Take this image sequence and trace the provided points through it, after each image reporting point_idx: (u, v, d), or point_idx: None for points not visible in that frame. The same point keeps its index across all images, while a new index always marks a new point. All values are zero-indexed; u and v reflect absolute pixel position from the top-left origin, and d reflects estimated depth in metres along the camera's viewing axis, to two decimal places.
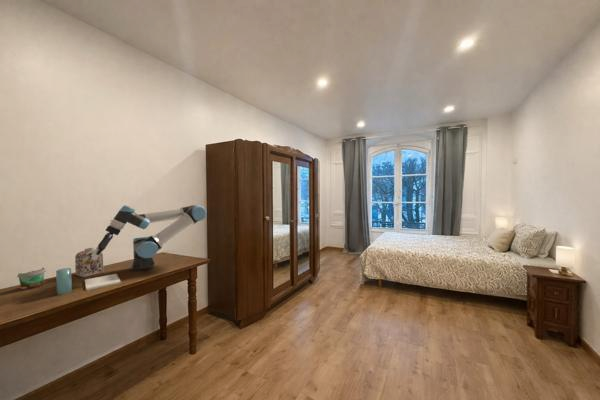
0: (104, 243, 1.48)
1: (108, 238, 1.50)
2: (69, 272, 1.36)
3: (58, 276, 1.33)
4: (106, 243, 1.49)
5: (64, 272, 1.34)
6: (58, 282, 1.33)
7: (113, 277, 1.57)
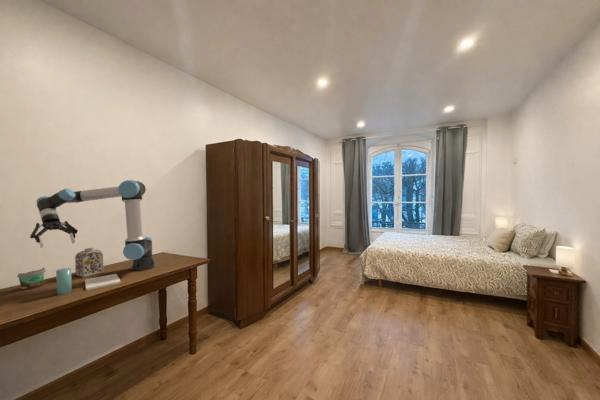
0: None
1: None
2: (69, 272, 1.36)
3: (58, 276, 1.33)
4: (33, 231, 1.39)
5: (64, 272, 1.34)
6: (58, 282, 1.33)
7: (113, 277, 1.57)
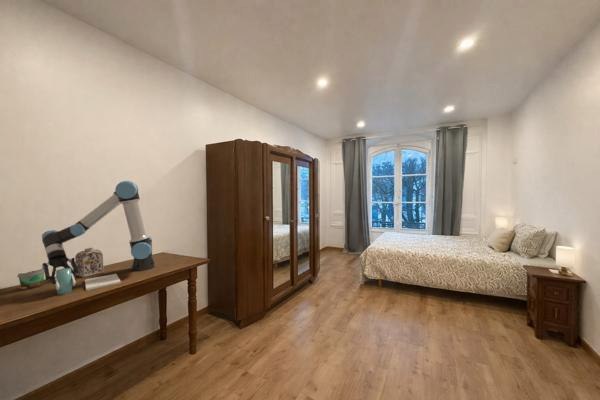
0: (45, 274, 1.33)
1: (44, 268, 1.34)
2: (69, 272, 1.36)
3: (58, 276, 1.33)
4: (45, 272, 1.32)
5: (64, 272, 1.34)
6: (58, 282, 1.33)
7: (113, 277, 1.57)
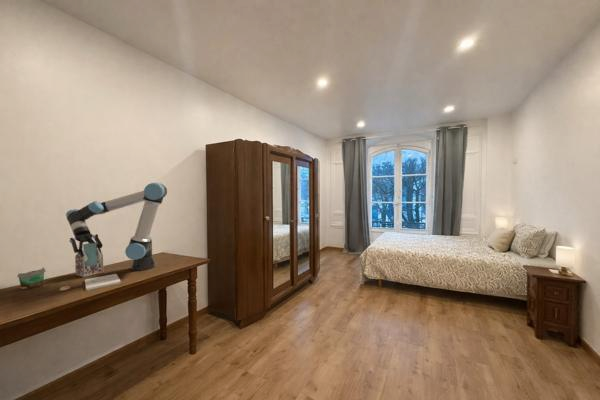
0: (73, 247, 1.43)
1: (72, 242, 1.44)
2: (95, 246, 1.47)
3: (85, 249, 1.44)
4: (73, 246, 1.43)
5: (91, 245, 1.45)
6: None
7: (113, 277, 1.57)
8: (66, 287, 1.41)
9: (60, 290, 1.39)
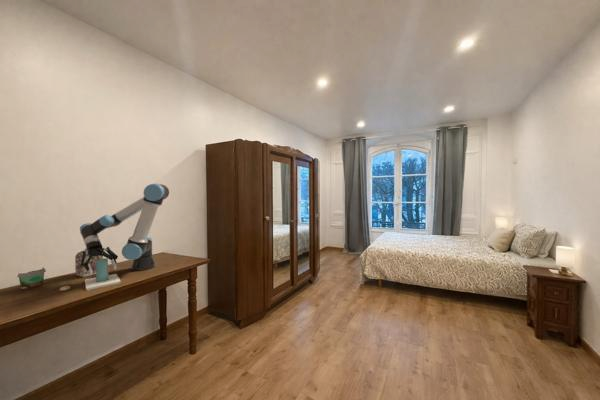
0: (81, 261, 1.47)
1: (82, 255, 1.49)
2: (106, 262, 1.51)
3: (97, 265, 1.48)
4: None
5: (102, 262, 1.49)
6: (97, 271, 1.48)
7: (113, 277, 1.57)
8: (66, 287, 1.41)
9: (60, 290, 1.39)
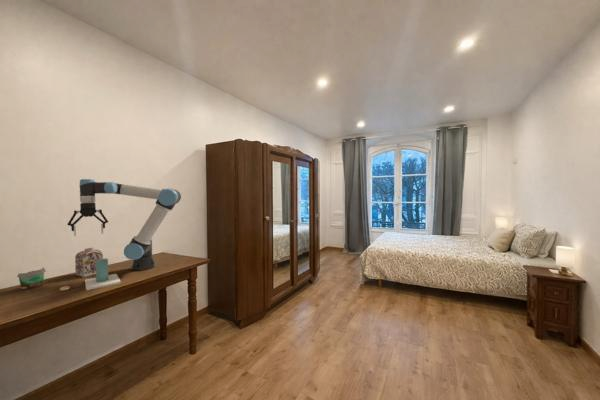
0: (70, 219, 1.54)
1: (73, 214, 1.54)
2: (106, 262, 1.52)
3: (97, 265, 1.48)
4: (70, 219, 1.53)
5: (103, 261, 1.49)
6: (97, 270, 1.48)
7: (113, 277, 1.57)
8: (66, 287, 1.41)
9: (61, 290, 1.39)
